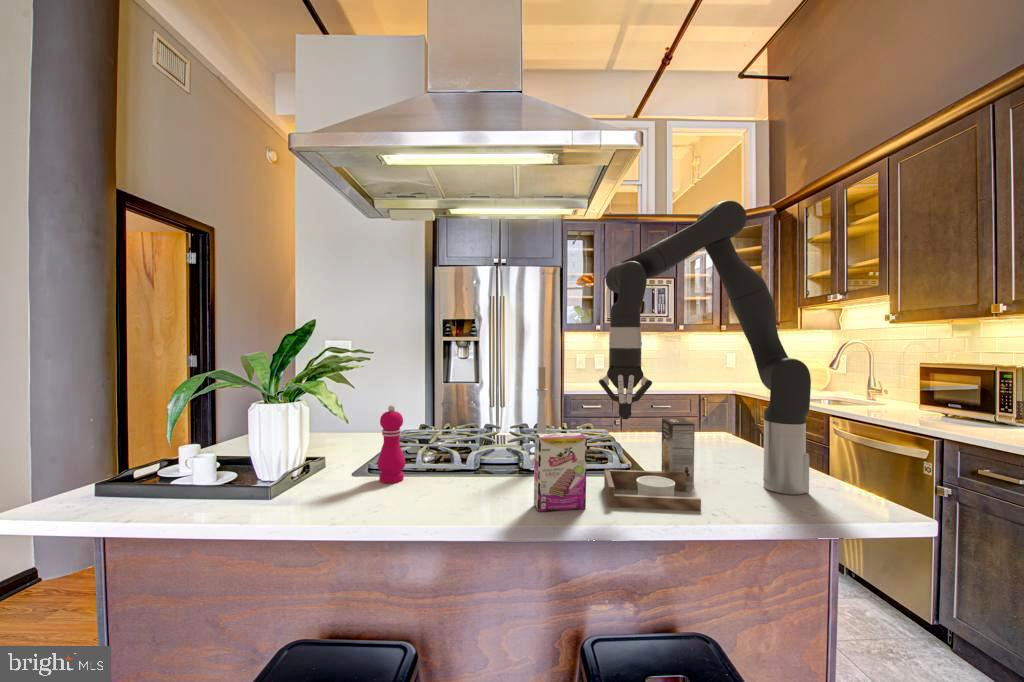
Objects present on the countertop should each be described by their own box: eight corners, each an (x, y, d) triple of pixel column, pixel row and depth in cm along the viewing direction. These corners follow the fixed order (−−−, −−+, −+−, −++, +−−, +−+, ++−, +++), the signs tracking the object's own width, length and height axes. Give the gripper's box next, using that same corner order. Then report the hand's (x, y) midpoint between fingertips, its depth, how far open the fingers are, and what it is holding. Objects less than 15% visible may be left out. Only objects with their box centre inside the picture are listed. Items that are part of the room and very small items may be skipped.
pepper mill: (411, 478, 130) (411, 404, 129) (391, 485, 124) (391, 408, 123) (392, 474, 133) (392, 402, 133) (371, 481, 127) (371, 405, 127)
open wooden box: (685, 490, 121) (685, 472, 121) (700, 510, 107) (701, 490, 106) (604, 486, 123) (604, 469, 123) (608, 506, 109) (609, 486, 109)
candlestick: (524, 459, 150) (524, 363, 150) (565, 461, 148) (565, 364, 148) (516, 470, 138) (516, 366, 138) (561, 473, 135) (561, 366, 135)
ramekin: (629, 494, 118) (629, 476, 118) (661, 491, 120) (661, 474, 120) (649, 507, 109) (649, 487, 109) (683, 503, 112) (683, 484, 112)
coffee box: (660, 474, 134) (660, 417, 134) (683, 475, 134) (683, 417, 134) (670, 485, 125) (671, 423, 125) (695, 485, 125) (695, 423, 125)
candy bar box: (538, 513, 105) (538, 437, 105) (533, 505, 110) (533, 433, 110) (587, 510, 107) (587, 436, 107) (580, 502, 112) (580, 431, 112)
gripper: (650, 346, 118) (650, 416, 118) (596, 345, 120) (595, 415, 120) (656, 346, 111) (655, 422, 111) (598, 346, 112) (597, 420, 112)
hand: (624, 418), depth 115 cm, fingers closed
